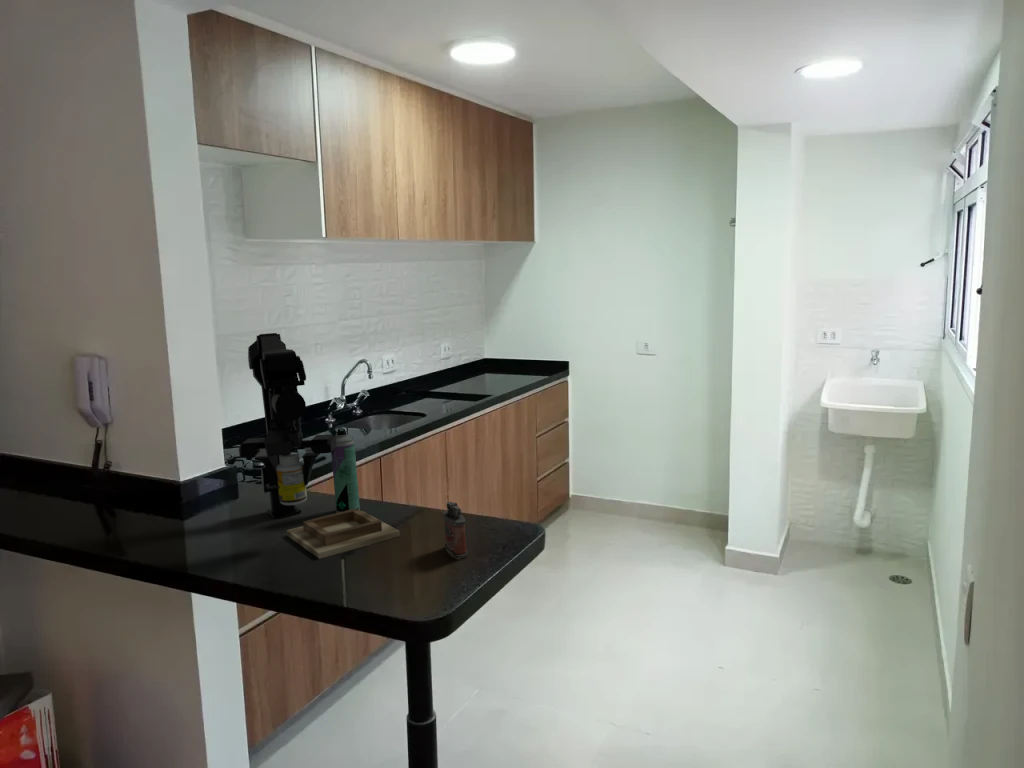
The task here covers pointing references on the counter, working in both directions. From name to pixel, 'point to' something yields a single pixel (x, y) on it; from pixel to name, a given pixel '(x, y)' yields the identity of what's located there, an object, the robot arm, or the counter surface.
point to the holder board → (341, 533)
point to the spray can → (345, 472)
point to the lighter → (454, 531)
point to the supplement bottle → (291, 480)
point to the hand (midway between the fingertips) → (292, 485)
